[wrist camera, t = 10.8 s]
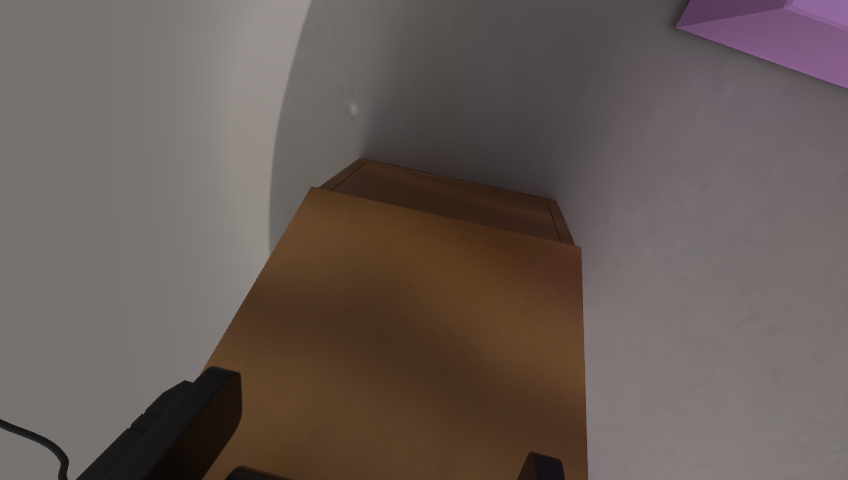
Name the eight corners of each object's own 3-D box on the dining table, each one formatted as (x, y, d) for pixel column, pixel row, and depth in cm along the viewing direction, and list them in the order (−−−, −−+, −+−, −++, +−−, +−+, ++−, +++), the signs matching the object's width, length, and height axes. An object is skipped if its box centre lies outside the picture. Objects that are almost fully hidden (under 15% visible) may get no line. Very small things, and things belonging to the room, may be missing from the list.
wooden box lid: (584, 724, 11) (722, 844, 6) (97, 570, 12) (-69, 582, 8) (575, 255, 21) (626, 177, 16) (313, 196, 22) (295, 107, 18)
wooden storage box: (500, 365, 35) (501, 442, 28) (341, 325, 36) (304, 390, 29) (556, 200, 28) (577, 247, 21) (359, 157, 29) (315, 188, 22)
